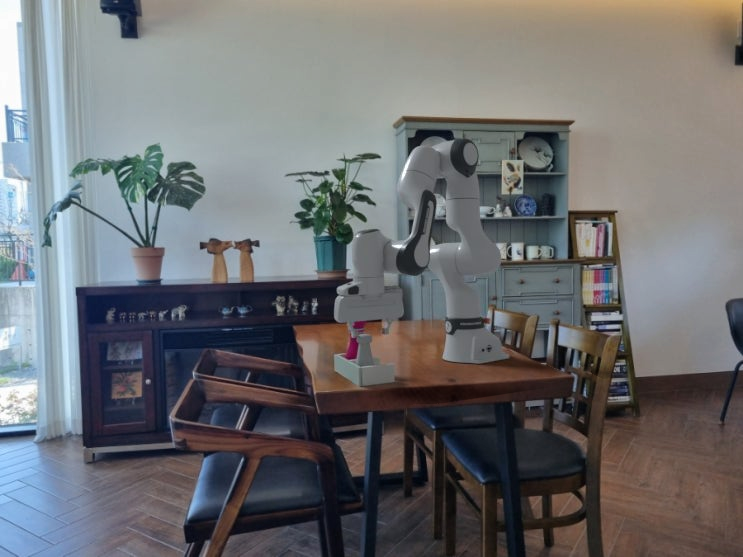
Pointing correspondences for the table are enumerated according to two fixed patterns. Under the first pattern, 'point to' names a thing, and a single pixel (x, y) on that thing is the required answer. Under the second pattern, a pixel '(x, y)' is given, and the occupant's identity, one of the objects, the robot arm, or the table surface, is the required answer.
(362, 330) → the pepper mill
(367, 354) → the salt shaker
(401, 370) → the table surface
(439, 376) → the table surface
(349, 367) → the condiment rack
